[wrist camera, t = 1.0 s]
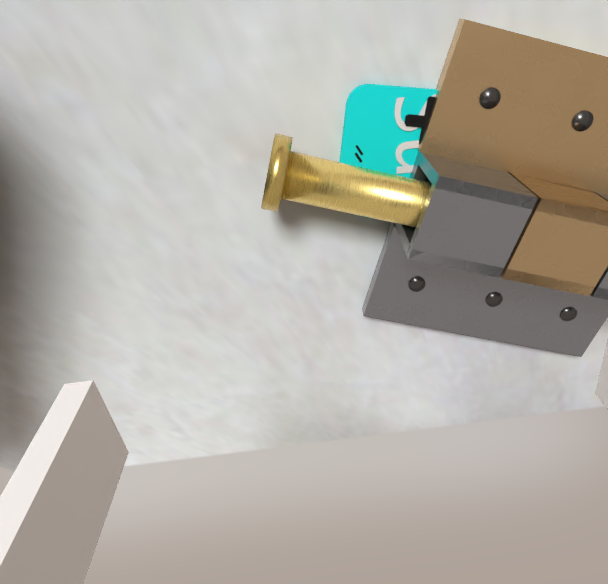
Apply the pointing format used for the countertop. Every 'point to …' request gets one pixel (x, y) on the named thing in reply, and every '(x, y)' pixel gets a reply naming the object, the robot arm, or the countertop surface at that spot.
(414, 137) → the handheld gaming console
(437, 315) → the sliding bolt latch
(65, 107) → the countertop surface
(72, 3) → the countertop surface
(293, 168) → the pin
